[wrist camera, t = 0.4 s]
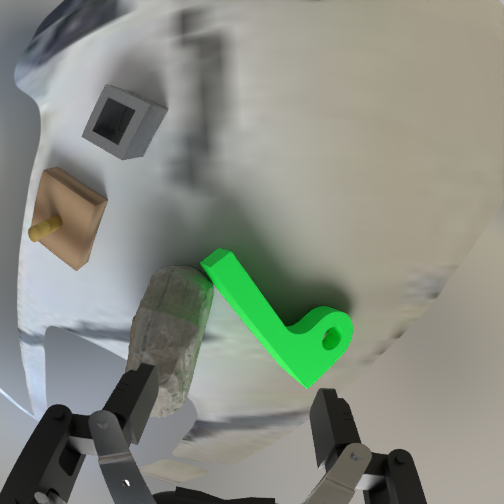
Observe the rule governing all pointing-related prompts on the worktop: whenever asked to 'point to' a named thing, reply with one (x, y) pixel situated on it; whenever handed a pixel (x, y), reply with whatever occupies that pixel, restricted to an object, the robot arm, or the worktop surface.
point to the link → (109, 117)
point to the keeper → (66, 217)
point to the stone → (171, 332)
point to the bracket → (271, 327)
